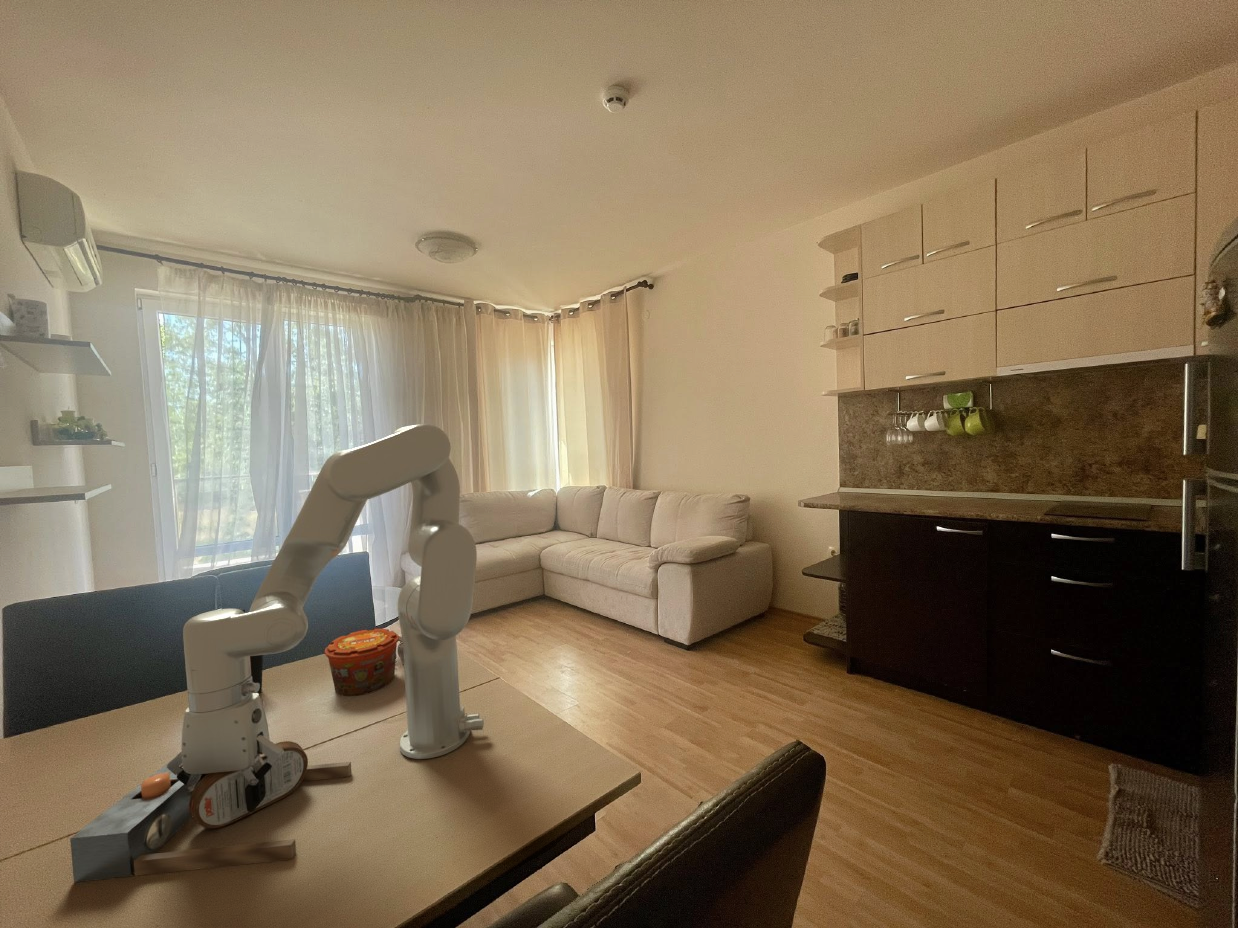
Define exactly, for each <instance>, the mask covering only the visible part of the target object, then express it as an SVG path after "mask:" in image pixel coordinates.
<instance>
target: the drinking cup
mask: <svg viewBox="0 0 1238 928" xmlns="http://www.w3.org/2000/svg"><path fill="white" fill-rule="evenodd" d="M241 610H242V611H243V612H244V613H246V609H241ZM263 663H264V655H257V656H250V665H251V676H252V682H254V683H259V684H260V688H259V690H258V692H253V693H258V694H259V695H260V694H261V692H262V691H263V690H262V689H263V670H264V669H263V666H264V665H263Z"/></svg>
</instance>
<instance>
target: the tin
mask: <svg viewBox="0 0 1238 928" xmlns="http://www.w3.org/2000/svg"><path fill="white" fill-rule="evenodd" d="M275 744H276V745H277V746H279V747H280V748H282V749H283V750H284V753H283V754H282V756H281V757H280V758H279V759H278V761H277V762H276V763H275V765H274V766H273V767H272V768H271V769H270V770H269V771H268V772H267V773H266V774H265V775H264V776H265V790H266V794H265V797H264V799H263V800H262V801H261V803H260V804H259V805H258V806H257V807H256V808H255V809H254V811H252V812H248V811H247V805H246V792H245V788H246V786H247V785H248V784H249V782H248V781H247V779H246V778H245V776H244V775H243V773H242V772H241V770H238V771H229V772H218V773H208V774H207V775H206V776H205V777H204V778H203V779H202V780H201V781H200V782H199V783H198V784H197V786H196V787H195V789H194V790H193V792H192V795H191V797H190V801H189V810H190V813H191V815H192V818H193V819H194V821H195V822H196V823H197V824H198V825H199V826H200V827H203V828H205V829H218V828H223V827H226V826H228V825H230V824H232V823H234V822H237V821H239V820H241V819H242V818H244V817H245V818H246V817H247V816H249V815H251V814H253V813H255V812H257V811H259V810H262V809H264V808H265V807H267V806H269V805H271V804H274V803H276V802H278V801H280V800H282V799H284V798H285V797H288V796H289V795H290V794H292V793H293V792H294V791H295V790H296V789H297V788H298V787H299V786H300V785H301V783H302V782H303V781H302V780H303V778H304V776H305V774H306V771H307V766H309V765H308V764H309V760H308V759H309V758H308V755H307V753H306V752H305V751H304V749H303V747H301V745H300V744H298V743H297V742H294V741H291V740H290V741H289V740H288V741H287V740H286V741H285V740H284V741H279V742H276V743H275ZM260 757H261V758H262V760H263V761H264V763H265V762H266V761H267V759H268V757H267V756H266V755H265V754H260ZM252 768H253V769H254V771H255V772H257V771H256V769H255V767H254V766H252Z"/></svg>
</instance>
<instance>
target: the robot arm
mask: <svg viewBox="0 0 1238 928" xmlns="http://www.w3.org/2000/svg"><path fill="white" fill-rule="evenodd" d="M451 448H452V447H451V442H450V439H449V437H448V435H447V434H446V432H445V431H444V430H443V429H441V428H440V427H438V426H436V425H434V424H432V423H418V424H413V425H406V426H403V427H400V428H398V429H396V430H394V431H393V432H392V433H391V434H390V435H388V436H386V437H383V438H381V439H377V440H375V441H373V442H369V443H368V444H364V445H361V446H357V447H353V448H351V449H343V450H339V451H336V452H334V453H333V454H332V455H330V456H329V457H328V458H327V459H326V460H325V461H324V464H323V465H322V467H321V469H320V470H319V473H318V475H317V477H316V479H315V480H314V482H313V485H312V486H311V488H310V490H309V492H308V494H307V496H306V499H305V502H304V503H303V505H302V507H301V509H300V510H299V513H298V515H297V516H296V519H295V521H294V523H293V524H292V527H291V528H290V530H289V532H288V534H287V536H286V537H285V539H284V541H283V543H282V546H281V547H280V550H279V551H278V553H277V555H276V556H275V558H274V560H273V562H272V563H271V566H270V568H269V569H268V571H267V572H266V574H265V577H264V579H263V581H262V583H261V584H260V586H259V588H258V591H257V593H256V595H255V596H254V599H253V601H252V602H251V605H250V608H249V611H248V612H245V613H244V612H243V611H242V610H243V609H240V608H239V609H238V608H232V607H231V608H220V609H215V610H210V611H207V612H203V613H199V614H197V615H195V616H192V617H191V618H189V619H188V620H187V621H186V622H185V624H184V625H183V629H182V639H183V640H182V641H183V651H184V652H183V653H184V661H185V674H186V675H185V676H186V688H187V699H188V700H187V701H188V707H187V708H186V709H185V712H184V716H183V722H182V729H181V749H180V750H181V751H180V752H179V753H178V754H177V755H176V756H175V757H173V758H172V759H173V760H172V759H171V760H172V761H171V760H170V761H171V762H170V761H169V762H170V763H169V764H168V765H167V768H168V769H169V770H170V771H171V772H172V773H173V774H175V775H177V779H178V780H179V781H181V782H182V783H183V784H185V785H186V787H185V789H186V790H187V791H188V792H191V795H192V792H193V790H194V789H195V787H196V786H197V784H198V783H199V782H200V781H201V780H202V779H203V778H204V777H205V776H206V775H207V774H208V773H218V772H229V771H238V770H241V772H242V773H243V775H244V776H245V778H246V779H247V781H248V782H249V784H248V785H247V786H246V788H245V792H246V805H247V811H248V812H252V811H254V809H255V808H256V807H257V806H258V805H259V804H260V803H261V801H262V800H263V799H264V797H265V794H266V790H265V776H264V775H265V774H266V773H267V772H268V771H269V770H270V769H271V768H272V767H273V766H274V765H275V763H276V762H277V761H278V759H279V758H280V757H281V756H282V754H283V753H284V750H283V749H282V748H280V747H279V746H277V745H276V743H274V742H273V741H271V739H270V732H269V726H268V725H269V724H268V720H267V719H268V718H267V715H266V711H265V707H264V705H263V704H264V703H263V702H262V698H261V696H260V693H259V694H258V693H253V692H258V690H259V688H260V684H259V683H254V682H252V676H251V665H250V656H257V655H263V656H267V655H273V654H279V653H283V652H287V651H289V650H292V649H294V647H297V646H298V645H299V644H300V643H301V642H302V640H304V638H305V636H306V635H307V633H308V628H309V623H308V622H309V621H308V616H307V615H306V613H305V611H304V609H303V608H304V606H305V604H306V602H307V599H308V597H309V595H310V593H311V591H312V589H313V587H314V585H315V583H316V581H317V579H318V577H319V576H320V574H321V572H322V571H323V570H324V568H325V567H326V566H327V565H328V564H329V563H330V562H331V561H332V560H334V559H335V558H336V557H337V556H339V555H340V554H341V553H342V551H343V550H344V548H345V547H346V546H347V544H348V543H349V540H350V537H351V535H352V533H353V530H354V529H355V527H356V524H357V522H358V519H359V518H360V515H361V513H362V511H363V509H364V507H365V506H366V503H367V501H368V500H371V499H374V498H376V497H379V496H382V495H383V494H386V493H388V492H391V491H393V490H397V489H398V488H401V487H403V486H405V485H406V484H407V485H408V484H409V483H411V488H412V507H411V508H412V510H411V519H410V526H409V527H410V528H409V537H408V544H407V545H408V546H407V551H408V554H409V555H408V556H409V557H410V559H411V560H412V561H413V563H415V564H416V565H417V566H419V567H421V570H420V571H421V572H420V575H415V576H413V578H410V579H409V580H408V581H407V582H406V583H405V584H404V586H402V588H401V590H400V592H399V594H398V595H399V596H398V598H397V599H398V600H397V615H398V621H399V627H400V634H401V641H402V642H401V643H402V651H403V653H402V654H403V668H404V669H403V671H404V685H405V686H404V687H405V689H404V690H405V702H406V703H405V704H406V723H407V730H406V731H404V733H403V734H402V735H401V737H400V739H399V743H398V745H399V750H400V753H401V754H402V755H403V756H405V757H407V758H410V759H414V760H416V759H417V760H427V759H433V758H437V757H440V756H441V757H442V756H444V755H446V754H449V753H451V752H452V751H455V750H456V749H458V748H460V746H462V745H463V744H464V743H465V741H467V739H468V738H469V735H470V733H471V731H482V730H484V718H480V713H473V714H468V713H466V712H465V711H466V710H465V706H463V705H461V703H460V702H461V700H460V684H459V683H460V682H459V680H460V679H459V666H458V665H459V664H458V660H459V659H458V645H457V635H458V634H460V633H461V632H462V631H463V630H464V629H465V627H466V625H467V624H468V623H469V619H470V617H471V614H472V608H473V602H474V594H475V585H476V584H475V582H476V574H477V573H476V572H477V560H478V559H477V557H478V555H477V554H478V553H477V546H476V542H475V539H474V536H473V535H472V533H471V532H470V531H469V530H468V528H466V527H465V526H463V525H461V524H460V520H459V519H460V500H461V497H460V496H461V490H460V489H461V487H460V486H461V485H460V480H459V476H458V473H457V470H456V467H454V464H453V462H452V461H451V459H450V458H449V457H450V454H451ZM260 754H265V755H266V756H267V757H268V759H267V761H266V762H265V763H264V761H263V760H262V758H261V757H260ZM252 766H254V767H255V769H256V771H257V772H255V771H254V769H253V768H252Z"/></svg>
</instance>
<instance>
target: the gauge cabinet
mask: <svg viewBox="0 0 1238 928" xmlns="http://www.w3.org/2000/svg"><path fill="white" fill-rule="evenodd" d="M173 759H174V758H172V759H171V760H170V761H168V762H167V763H166V764H164V766H162V767H161V768H160V769H158V770H157V771H156V772H154V773H153V774H152V775H150V776H149V777H148V778H150V777H152V776H154V775H157V774H161V773H169V774H170V782H171V788H169V789H168V790H167V791H166V792H165V793H163V794H162V795H161V796H160V797H152V798H142V793H141V784H142V782H141V783H140V784H139V785H137V786H136V787H135V788H133V789H132V790H131V791H129V792H128V793H127V794H126V795H124V796H123V797H122V798H121V799H119V800H118V801H116V802H115V803H114V804H113V805H111V806H110V807H109V808H108V809H107V810H105V811H104V812H102V813H101V814H100V815H98V816H97V817H96V818H95V819H92V821H91V822H90V823H88V824H87V825H86V826H84V827H83V828H82V829H79V831H78V832H77V833H75V834H74V835H72V836H71V837H70V840H69V843H70V850H71V851H70V852H71V862H72V863H71V864H72V877H73V883H80V882H90V881H91V882H92V881H100V880H106V879H108V880H109V879H119V878H125V877H132V876H133V875H135V871H134V861H135V860H136V859H137V858H138V857H139V856H140V855H147V854H157V853H158V850H160V849H162V847H163V846H164V845H165V844H166V843H168V841H169V840H170V839H171V838H172V837H173V836H174V835H176V834H177V833H178V832H179V831H180V829H181V828H183V827H184V826H185V825H186V824H187V823H188V822H189V821H190V820H191V819H192V818H193V817H192V815H191V813H190V810H189V801H190V797H191V792H188V791H187V790H186V789H185V787H186V785H185V784H183V783H182V782H181V781H179V780H178V779H177V775H175V774H173V773H172V772H171V771H170V770H169V769H168V768H167V765H168V764H169V763H170V762H171V761H172V760H173ZM156 852H157V853H156Z"/></svg>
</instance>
